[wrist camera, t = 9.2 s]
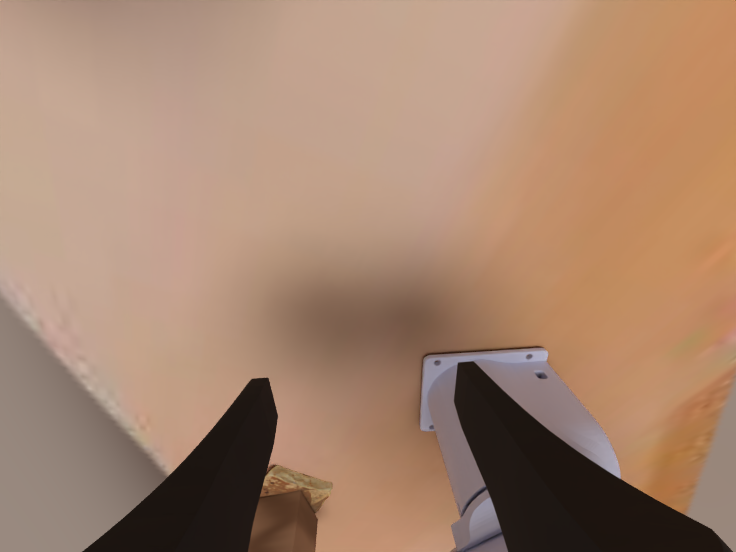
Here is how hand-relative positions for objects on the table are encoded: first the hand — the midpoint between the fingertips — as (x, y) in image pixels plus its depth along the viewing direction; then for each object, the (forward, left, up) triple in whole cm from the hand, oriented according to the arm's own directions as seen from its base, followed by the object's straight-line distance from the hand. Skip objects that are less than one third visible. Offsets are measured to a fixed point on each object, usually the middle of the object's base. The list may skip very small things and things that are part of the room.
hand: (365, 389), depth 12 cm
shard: (+7, +24, -10) cm, 27 cm away
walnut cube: (+8, +23, -8) cm, 26 cm away
